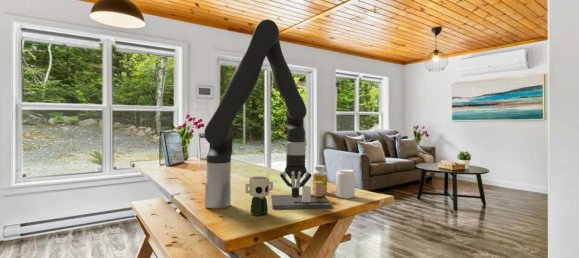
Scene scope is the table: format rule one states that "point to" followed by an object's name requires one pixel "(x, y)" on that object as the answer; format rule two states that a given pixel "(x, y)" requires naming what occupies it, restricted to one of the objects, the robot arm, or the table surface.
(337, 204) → the table surface
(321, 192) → the terracotta fader
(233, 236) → the table surface
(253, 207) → the character mug
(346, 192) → the beverage can
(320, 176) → the supplement bottle
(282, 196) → the board
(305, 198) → the block
